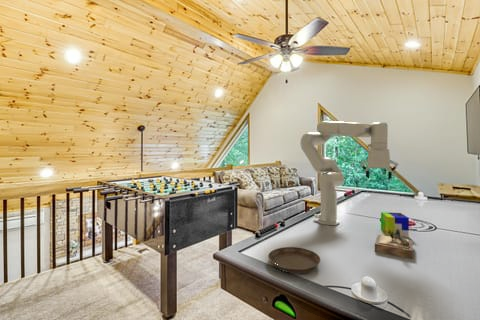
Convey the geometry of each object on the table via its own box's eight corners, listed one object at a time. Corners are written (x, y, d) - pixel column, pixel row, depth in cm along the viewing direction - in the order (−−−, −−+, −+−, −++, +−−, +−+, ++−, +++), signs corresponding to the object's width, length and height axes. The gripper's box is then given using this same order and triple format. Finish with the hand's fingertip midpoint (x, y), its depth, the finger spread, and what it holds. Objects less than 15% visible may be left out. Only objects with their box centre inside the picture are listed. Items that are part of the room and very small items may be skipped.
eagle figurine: (381, 237, 114) (396, 241, 105) (386, 223, 115) (402, 226, 107) (394, 245, 115) (410, 249, 106) (399, 231, 116) (416, 234, 107)
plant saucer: (257, 264, 101) (257, 256, 100) (287, 249, 115) (287, 242, 115) (302, 284, 86) (302, 274, 86) (329, 264, 100) (329, 256, 100)
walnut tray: (374, 251, 111) (374, 242, 111) (377, 241, 123) (378, 233, 123) (412, 259, 103) (412, 249, 103) (412, 247, 115) (412, 239, 115)
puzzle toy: (408, 236, 129) (408, 217, 129) (387, 235, 131) (387, 217, 131) (400, 230, 139) (400, 212, 138) (380, 229, 141) (381, 212, 140)
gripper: (359, 146, 130) (359, 178, 131) (398, 146, 120) (397, 180, 121) (361, 146, 136) (361, 177, 137) (398, 146, 127) (398, 179, 127)
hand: (378, 179), depth 129 cm, fingers open, 9 cm apart
